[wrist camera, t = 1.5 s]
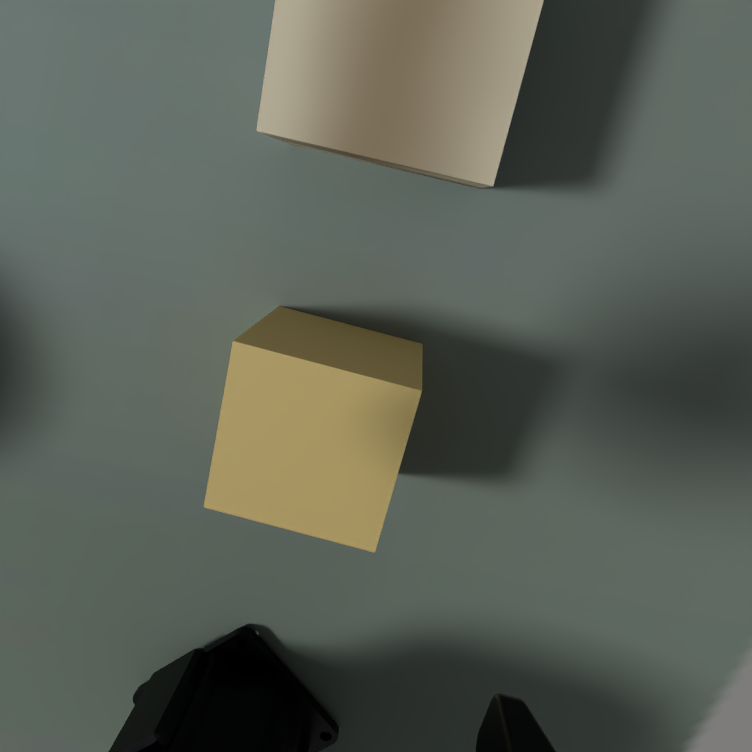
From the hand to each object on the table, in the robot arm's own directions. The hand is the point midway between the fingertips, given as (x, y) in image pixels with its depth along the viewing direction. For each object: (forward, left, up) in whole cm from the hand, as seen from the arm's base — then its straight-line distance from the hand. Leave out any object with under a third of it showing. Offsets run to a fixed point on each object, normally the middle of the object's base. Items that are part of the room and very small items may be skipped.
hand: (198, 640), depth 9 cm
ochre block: (0, 0, -12) cm, 12 cm away
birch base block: (+7, -8, -12) cm, 16 cm away
